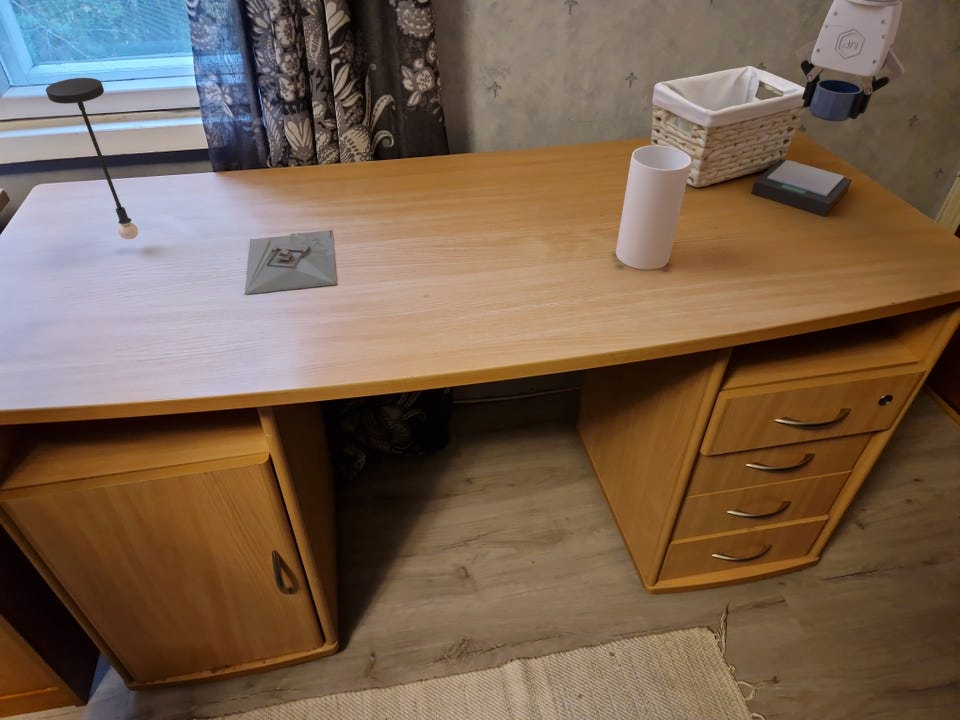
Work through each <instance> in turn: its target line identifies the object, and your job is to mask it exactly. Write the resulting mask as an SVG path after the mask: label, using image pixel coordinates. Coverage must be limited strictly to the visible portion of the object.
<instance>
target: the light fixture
mask: <svg viewBox="0 0 960 720" xmlns="http://www.w3.org/2000/svg"><path fill="white" fill-rule="evenodd" d="M45 92H46V95H47V97H48V100H49V101H51V102H52V103H56V104H63V105H65V104H77V106H78V108H79V111H80V112H81V115H82V118H83V121H84V123H85V125H86V128H87V131H88V133H89V134H88V135H89V136H90V138H91V141H92V144H93V147H94V150H95V152H96V155H97V157H98V159H99V160H98V161H99V163H100V165H101V168H102V170H103V173H104V175H105V179H106V181H107V183H108V187H109V189H110V191H111V192H110V193H111V194H112V197H113V199H114V202H115V205H116V208H115V212H116V215H117V217H118V224H119V226H118V229H117V230H118V234H119V236H120V237H121V238H122V239H123V240H133V239H135V238H137V236H138V234H139V229H138V226H137V225H136V224H134V223H133V222H132V219H131V218H130V217H129V216H128V214H127V210H126V208H125V207H124V206H122V204H121V201H120V200H119V197H118V194H117V192H116V189H115V187H114V183H113V181H112V178H111V175H110V172H109V170H108V168H107V165H106V162H105V160H104V157H103V154H102V152H101V149H100V146H99V143H98V141H97V138H96V135H95V133H94V130H93V128H92V125H91V122H90V120H89V119H90V118H89V117H88V114H87V111H86V108H85V104H84V103H85V102H89V101H92V100H95V99H97V98H99V97H101V96H102V95H103V94H104V93H105V89H104V86H103V83H102V81H101V79H97V78H93V77H75V78H68V79H63V80H59V81H57V82H54V83H51V84H50V85H48V86H47V87H46V88H45Z"/></svg>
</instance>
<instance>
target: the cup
mask: <svg viewBox="0 0 960 720" xmlns="http://www.w3.org/2000/svg"><path fill="white" fill-rule="evenodd" d="M690 166H691V158H690V156H689V155H688V154H686V153H685V152H683V151H681V150H679V149H676V148H672V147H667V146H657V145H653V146H651V145H645V146H644V145H643V146H640V147H638V148H636V149H634V151H632V154H631V158H630V163H629V169H628V176H627V181H626V187H625V193H624V194H625V195H624V199H623V204H622V212H621V219H620V224H619V230H618V231H619V232H618V235H617V242H616V248H615V256H616V257H617V259H618V260H619V261H620V262H621V264H624V265H625V266H629V267H630V268H634V269H638V270H642V271H643V270H646V271H649V270H650V271H651V270H657V269H658V270H659V269H661V268H663V267H665V266H666V265H667V264H668V263H669V262H670V259H671V255H672V249H673V245H674V240H675V237H676V232H677V228H678V224H679V219H680V215H681V210H682V205H683V202H684V196H685V191H686V188H687V185H688V184H687V179H688V175H689V170H690Z"/></svg>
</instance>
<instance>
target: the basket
mask: <svg viewBox="0 0 960 720" xmlns="http://www.w3.org/2000/svg"><path fill="white" fill-rule="evenodd" d="M760 88H763V89H765V90H767V91H769V92H772V93H774V94H776V95H778V96H775V97H770V98H766V99H760V98H758V97H757V96H759V92H760ZM804 90H805V86H804V87H803V86H802V85H799V84H797V83H795V82H793V81H790V80H788V79H786V78H784V77H781V76H778V75H776V74H773V73H771V72H769V71H766V70H763V69H759V68H757V67H755V66H751V65H746V66H742V67H738V68H730V69H725V70H719V71H714V72H711V73H705V74H704V73H703V74H700V75H695V76H689V77H683V78H677V79H671V80H666V81H660V82H657V83H656V84H655V85H654V86H653V95H652V102H651V103H652V110H653V111H652V121H651V134H650V135H651V136H650V140H651V141H650V146H653V145H657V146H667V147H672V148H676V149H679V150H681V151H683V152H685V153H686V154H688V155H689V156H690V158H691V166H690V170H689V175H688V179H687V184H686V185H689V186H692V187H693V188H701V187H708V186H711V185H713V184H718V183H721V182H724V181H729V180H732V179H735V178H740V177H742V176H746V175H751V174H754V173H757V172H763V171H764V170H768V169H770V168H771V167H772V166H773V165H774V164H775V163H777V162H778V161H779V160H780V159H782V160H785V159H786V157H787V155H788V154H787V153H788V151H789V149H790V147H791V144H792V140H793V138H794V137H795V134H796V131H797V128H798V125H799V123H800V122H801V117H802V116H803V115H804V113H805V110H806V108H805V107H803V104H804V101H805V100H803V99H802V97H803V94H804Z"/></svg>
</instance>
